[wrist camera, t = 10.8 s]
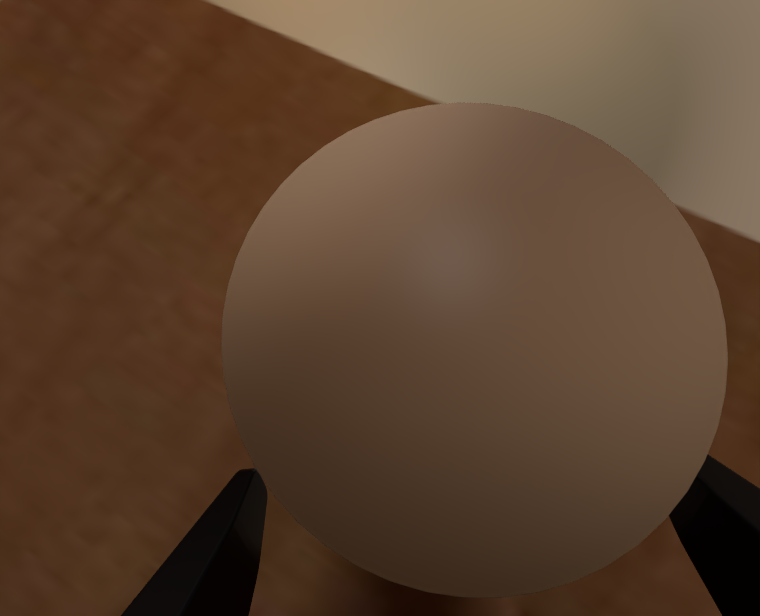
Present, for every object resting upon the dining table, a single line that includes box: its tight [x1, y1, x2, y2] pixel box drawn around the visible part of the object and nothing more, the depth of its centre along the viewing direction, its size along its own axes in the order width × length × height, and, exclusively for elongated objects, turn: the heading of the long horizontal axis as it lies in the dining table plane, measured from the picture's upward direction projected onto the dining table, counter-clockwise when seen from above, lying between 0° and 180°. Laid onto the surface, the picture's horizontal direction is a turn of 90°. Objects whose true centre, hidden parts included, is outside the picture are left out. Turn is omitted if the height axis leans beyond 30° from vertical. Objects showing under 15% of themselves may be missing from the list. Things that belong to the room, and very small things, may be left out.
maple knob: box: [221, 103, 728, 598], centre depth 11 cm, size 6×6×13 cm
